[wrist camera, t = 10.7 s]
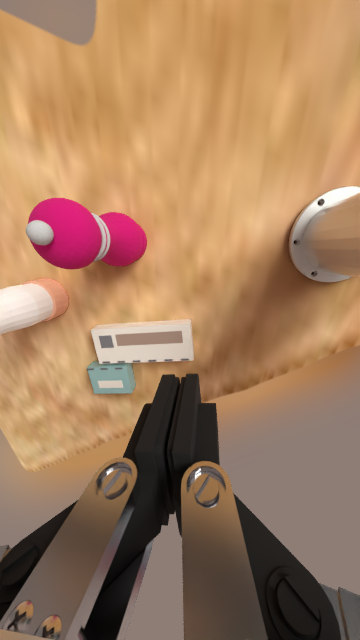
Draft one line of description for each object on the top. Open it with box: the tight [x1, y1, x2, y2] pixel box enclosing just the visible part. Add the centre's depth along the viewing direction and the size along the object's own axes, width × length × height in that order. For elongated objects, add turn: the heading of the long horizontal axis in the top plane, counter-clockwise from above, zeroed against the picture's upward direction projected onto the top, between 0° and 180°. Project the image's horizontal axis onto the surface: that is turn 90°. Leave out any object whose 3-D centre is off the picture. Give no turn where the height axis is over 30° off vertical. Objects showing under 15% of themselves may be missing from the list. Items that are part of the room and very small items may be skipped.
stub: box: [87, 361, 136, 394], centre depth 41 cm, size 8×6×3 cm
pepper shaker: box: [0, 278, 69, 335], centre depth 30 cm, size 7×7×19 cm
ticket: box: [91, 319, 194, 364], centre depth 38 cm, size 18×7×3 cm, turn 95°
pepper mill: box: [26, 198, 147, 269], centre depth 24 cm, size 7×7×20 cm
